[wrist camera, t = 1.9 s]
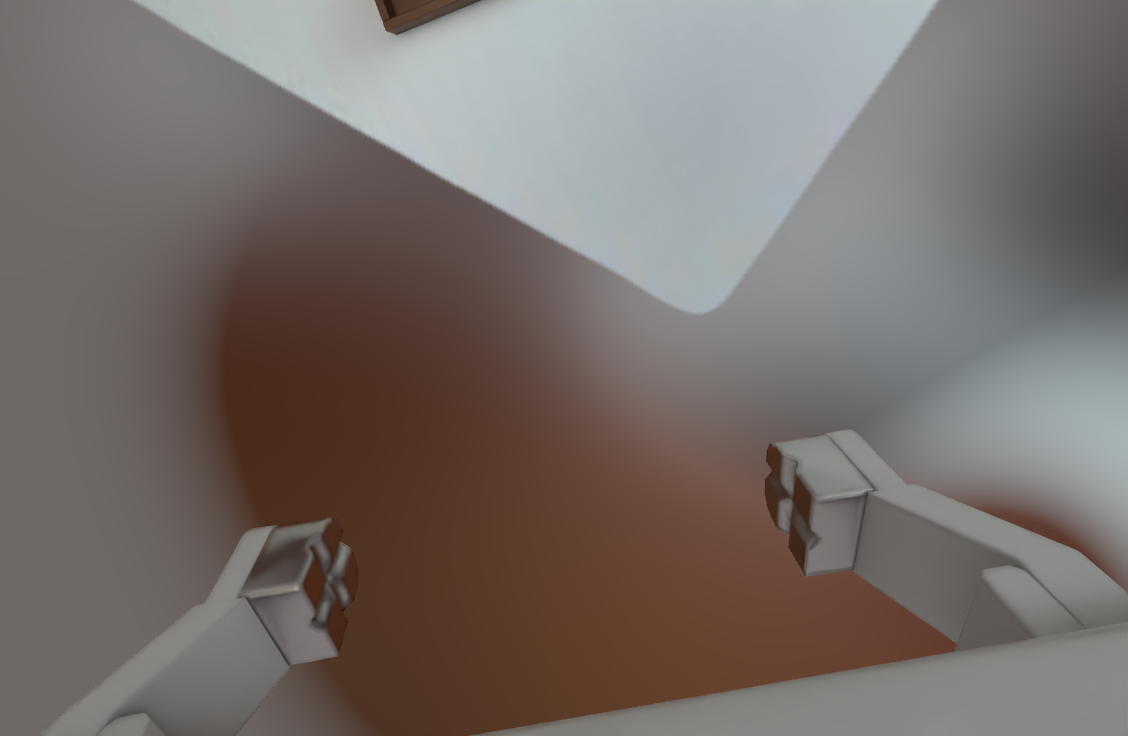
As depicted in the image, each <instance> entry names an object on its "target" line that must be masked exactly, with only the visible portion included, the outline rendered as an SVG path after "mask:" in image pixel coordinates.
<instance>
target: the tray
mask: <svg viewBox="0 0 1128 736" xmlns="http://www.w3.org/2000/svg"><path fill="white" fill-rule="evenodd" d="M477 1H480V0H375V2H376V5H377V7H378V10H379V13H380V16H381V18H382V21H383V24H384V27H385V30H386V31H388V32H391V33H394V34H396V35H398V34H400V33H403V32H405V31H407V30H410V29H412V28H415V27H417V26H419V25H422V24H424V23H427V22H429V21H432V20H434V19H436V18H439V17H441V16H444V15H446V14H448V13H451V12H453V11H456V10H458V9H460V8H463V7H465V6H468V5H470V4H473V3H475V2H477Z"/></svg>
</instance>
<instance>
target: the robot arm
mask: <svg viewBox="0 0 1128 736" xmlns="http://www.w3.org/2000/svg"><path fill="white" fill-rule="evenodd" d="M766 462H767V463H768V465H769V466H770V468H771V469H772V472H771V473H770V474H769V475H768V477H767V478H766V479H765V496H766V502H767V507H768V510H769V512H770V515H771V517H772V519H773V521H774V523H775V525H776V526H777V528H778V529H779V530H781V531H783V532H785V533H786V534H788V535H789V549H790V551H791V552H792V554H793V556H794V557H795V559H796V561H797V562H798V564H799V566H800V567H801V569H802V571H803V572H804V574H805V576H812V575H818V574H826V573H832V572H840V571H846V570H854V572H855V573H856V574H857V575H859V576H860V577H862V578H863V579H864V580H866V581H867V582H869V583H870V584H872V585H874V586H875V587H876V588H877V589H879V590H880V591H882V592H883V593H885V594H886V595H888V596H889V597H891V598H892V599H893V600H895V601H896V602H898V603H899V604H901V605H902V606H903V607H905V608H906V609H908V610H909V611H911V612H912V613H914V614H915V615H917V616H918V617H919V618H921V619H922V620H924V621H925V622H927V623H928V624H930V625H931V626H932V627H934V628H935V629H937V630H938V631H940V632H941V633H943V634H944V635H945V636H947V637H948V638H950V639H951V640H953V641H954V642H955V643H957V645H956V648H955V651H954V652H951V653H946V654H940V655H933V656H928V657H922V658H916V659H910V660H904V661H899V662H893V663H887V664H881V665H876V666H870V667H864V668H858V669H852V670H846V671H841V672H835V673H829V674H823V675H817V676H812V677H806V678H800V679H795V680H789V681H783V682H777V683H772V684H766V685H760V686H755V687H749V688H743V689H737V690H732V691H726V692H720V693H715V694H709V695H703V696H697V697H692V698H686V699H680V700H674V701H669V702H663V703H657V704H651V705H646V706H640V707H635V708H628V709H623V710H617V711H612V712H605V713H599V714H593V715H588V716H582V717H576V718H570V719H564V720H559V721H553V722H548V723H541V724H535V725H529V726H524V727H519V728H512V729H506V730H501V731H495V732H489V733H483V734H478V735H472V736H1128V593H1127V592H1126V591H1124V589H1122V588H1121V587H1120V586H1119V585H1118V584H1116V583H1115V582H1114V581H1113V580H1112V579H1111V578H1109V577H1108V576H1107V575H1106V574H1105V573H1103V572H1102V571H1101V570H1100V569H1099V568H1098V567H1096V566H1095V565H1094V564H1093V563H1092V562H1091V561H1090V560H1088V559H1087V558H1086V557H1085V556H1084V555H1083V554H1081V553H1080V552H1079V551H1077V550H1074V549H1072V548H1069V547H1067V546H1065V545H1062V544H1060V543H1057V542H1055V541H1052V540H1050V539H1047V538H1045V537H1043V536H1040V535H1038V534H1036V533H1033V532H1030V531H1028V530H1026V529H1023V528H1021V527H1018V526H1016V525H1014V524H1011V523H1009V522H1006V521H1004V520H1001V519H999V518H997V517H994V516H992V515H989V514H987V513H985V512H982V511H980V510H977V509H975V508H972V507H970V506H968V505H965V504H963V503H960V502H958V501H955V500H952V499H951V498H948V497H946V496H943V495H941V494H938V493H936V492H933V491H931V490H929V489H926V488H924V487H921V486H919V485H917V484H913V485H906V484H905V483H904V482H903V481H902V479H900V477H899V476H898V475H897V474H896V473H895V472H894V471H893V470H892V469H891V468H890V467H889V466H888V465H887V464H886V463H885V462H884V461H883V460H882V459H881V458H880V457H879V456H878V455H877V454H876V453H875V451H874V450H873V449H872V448H871V447H870V446H869V445H868V444H867V443H866V442H865V441H864V440H863V439H862V438H861V437H860V436H859V435H858V434H857V433H856V432H855V431H852V430H850V429H847V430H842V431H837V432H831V433H826V434H822V435H818V436H812V437H807V438H801V439H795V440H789V441H783V442H778V443H772V444H769V447H768V449H767V456H766ZM342 534H343V530H342V528H341V526H340V524H339V522H338V520H337V519H335V518H332V517H328V518H320V519H313V520H307V521H300V522H292V523H285V524H279V525H276V526H268V527H261V528H255V529H251V530H249V531H248V532H246V533H245V534H244V535H243V536H242V538H241V540H240V542H239V543H238V545H237V547H236V549H235V551H234V552H233V554H232V556H231V558H230V560H229V561H228V563H227V565H226V567H225V568H224V570H223V572H222V574H221V575H220V577H219V579H218V581H217V583H216V584H215V586H214V588H213V590H212V591H211V593H210V595H209V597H208V598H207V600H206V602H205V604H201V605H196V606H194V607H193V608H192V609H191V610H189V611H188V612H187V613H186V614H184V615H183V616H182V617H181V618H179V619H178V620H177V621H176V622H175V623H173V624H172V625H171V626H170V627H168V628H167V629H166V630H165V631H164V632H162V633H161V634H160V635H159V636H157V637H156V638H155V639H154V640H152V641H151V642H150V643H149V644H147V645H146V646H145V647H144V648H142V649H141V650H140V651H139V652H138V653H136V654H135V655H134V656H133V657H131V658H130V659H129V660H128V661H127V662H125V663H124V664H123V665H122V666H120V667H119V668H118V669H117V670H115V671H114V672H113V673H112V674H110V675H109V676H108V677H107V678H106V679H104V680H103V681H102V682H101V683H99V684H98V685H97V686H96V687H94V688H93V689H92V690H91V691H89V692H88V693H87V694H86V695H85V696H83V697H82V698H81V699H80V700H79V701H77V702H76V703H75V704H74V705H72V706H71V707H70V708H68V709H67V710H66V711H65V712H64V713H62V714H61V715H60V716H59V717H57V718H56V719H55V720H54V721H52V722H51V723H50V724H49V725H48V726H46V728H45V729H44V730H43V732H42V733H41V735H40V736H236V735H237V734H238V732H239V731H240V730H241V729H242V727H243V726H244V725H245V724H246V722H247V721H248V720H249V719H250V717H251V716H252V715H253V714H254V713H255V711H256V710H257V709H258V708H259V706H260V705H261V704H262V703H263V701H264V700H265V699H266V698H267V696H268V695H269V694H270V693H271V691H272V690H273V689H274V688H275V686H276V685H277V684H278V683H279V681H280V680H281V679H282V677H283V676H284V675H285V674H286V673H287V671H288V670H289V669H290V667H289V666H290V665H295V664H300V663H305V662H310V661H315V660H320V659H325V658H330V657H335V656H338V655H339V651H340V647H341V644H342V641H343V637H344V634H345V630H346V627H347V623H348V621H347V619H346V617H345V615H344V613H343V611H344V610H345V609H346V608H347V607H348V606H349V605H350V604H351V603H352V602H353V601H354V599H355V594H356V591H357V587H358V567H357V563H356V558H355V556H354V554H353V551H352V549H351V548H349V547H347V546H346V545H344V544H342V543H341V542H340V540H341V537H342Z"/></svg>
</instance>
